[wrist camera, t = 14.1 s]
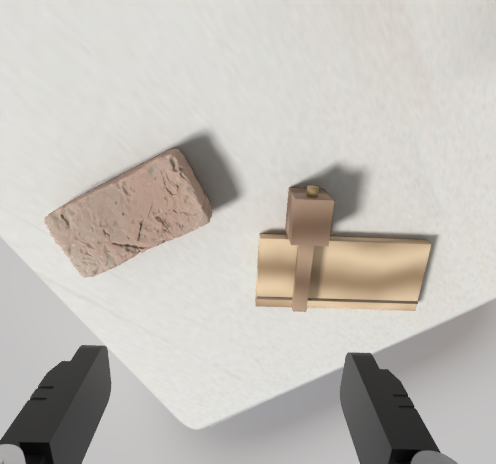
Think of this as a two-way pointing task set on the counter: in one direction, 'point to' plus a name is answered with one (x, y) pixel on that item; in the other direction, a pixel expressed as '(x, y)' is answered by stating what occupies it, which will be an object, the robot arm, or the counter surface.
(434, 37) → the counter surface
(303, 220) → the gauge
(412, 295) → the board
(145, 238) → the brick
